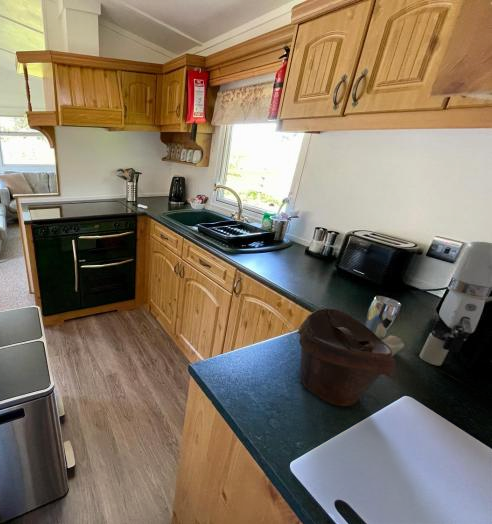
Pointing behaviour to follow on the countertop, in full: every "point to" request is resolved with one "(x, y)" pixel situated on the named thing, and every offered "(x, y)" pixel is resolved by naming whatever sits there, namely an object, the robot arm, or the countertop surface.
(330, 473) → the countertop surface
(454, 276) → the robot arm
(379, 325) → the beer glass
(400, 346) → the salt shaker
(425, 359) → the pepper shaker
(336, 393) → the brown lidded pot
